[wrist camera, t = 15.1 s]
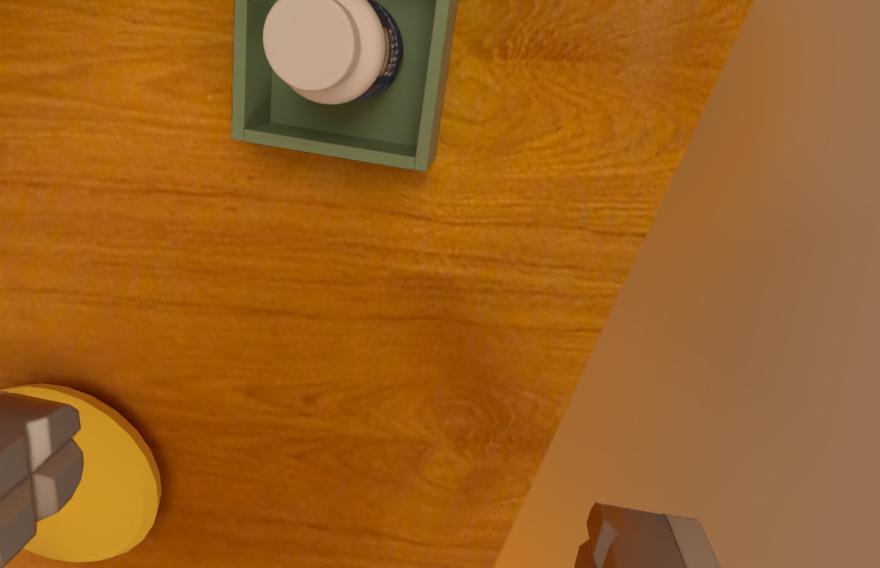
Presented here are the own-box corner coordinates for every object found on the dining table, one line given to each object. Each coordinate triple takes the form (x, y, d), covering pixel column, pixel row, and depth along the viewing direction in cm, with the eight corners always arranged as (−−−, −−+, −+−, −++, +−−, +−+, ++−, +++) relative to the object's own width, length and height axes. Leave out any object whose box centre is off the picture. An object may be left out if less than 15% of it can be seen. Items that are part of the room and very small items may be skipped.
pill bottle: (419, 80, 34) (388, 85, 25) (334, 110, 35) (276, 126, 26) (387, -18, 33) (342, -51, 23) (299, 17, 34) (224, -2, 25)
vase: (-45, 451, 48) (-131, 512, 42) (44, 326, 43) (-38, 373, 37) (115, 563, 51) (57, 637, 44) (216, 457, 46) (168, 523, 39)
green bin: (463, -39, 32) (457, -55, 28) (434, 159, 36) (425, 172, 32) (270, -68, 33) (235, -89, 29) (262, 131, 37) (230, 139, 32)
